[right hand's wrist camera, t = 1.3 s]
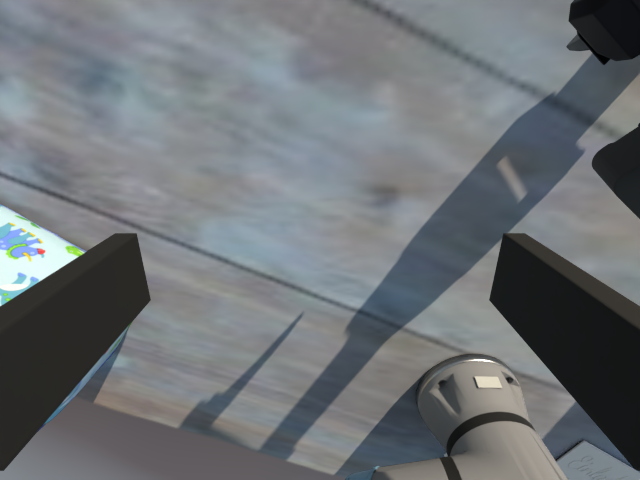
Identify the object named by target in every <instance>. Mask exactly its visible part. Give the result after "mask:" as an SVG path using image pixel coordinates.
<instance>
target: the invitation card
mask: <svg viewBox="0 0 640 480" xmlns="http://www.w3.org/2000/svg"><path fill="white" fill-rule="evenodd" d="M556 462H557V464H558V465H559V467H560V468H561V470H562V471H563V473H564V474H565V476H566V477H567V479H568V480H640V472H639V471H636V470H635V469H633V468H632V467H630V466H628V465H626V464H625V463H623V462H621V461H619V460H618V459H616V458H614V457H612V456H611V455H609V454H607V453H605V452H604V451H602V450H600V449H598V448H597V447H595V446H593V445H591V444H590V443H588V442H586V441H584V440H583V441H582V442H581V443H579V444H578V445H577V446H575V447H574V448H573V449H571V450H570V451H569V452H567V453H566V454H565V455H563V456H562V457H561V458H559V459H558V460H556Z"/></svg>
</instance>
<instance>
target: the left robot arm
mask: <svg viewBox="0 0 640 480" xmlns="http://www.w3.org/2000/svg"><path fill="white" fill-rule="evenodd" d="M569 22H570V23H571V24H572V25H573V26H574V28H575V29H576V30H577V35H576V36H575V37H574V38H573V39H572V41H571V42H570V43H569V44H568V45H567V48H568V49H569V50H572V51H584V50H590V51H591V52H592V53H593V54H594V55H595V56H596V57H597V59H598V60H599V61H600V62H601V63H602V64H603V65H605V64H606V63H607V62H608V61H609V60H610V59H612V60H615V61H620V60H629V59H633V58H635V57H636V56H638V55H640V0H574V1H573V2H572V3H571V6H570V14H569ZM592 167H593V169H594V170H595V171H596V172H597V174H598V175H599V176H600V177H601V178H602V179H603V181H604V182H605V183H606V184H607V185H608V186H609V187H610V189H611V190H612V191H613V192H614V193H615V194H616V196H617V197H618V198H619V199H620V200H621V201H622V202H623V203H624V204H625V205H626V206H627V207H628V208H629V209H630V210H631V211H632V212H633V213H634V214H635V215H636V216H637V217H638V218H639V219H640V123H639V124H638V127H637V128H635V129H634V130H632V131H631V132H629V133H628V134H626V135H625V136H623V137H622V138H620V139H619V140H617V141H616V142H614V143H610V144H608V145H606V146H605V147H603V148H602V149H601V150H599V151H598V152H597V153H596V155H595V156H594V158H593V160H592Z"/></svg>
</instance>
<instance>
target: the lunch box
mask: <svg viewBox="0 0 640 480" xmlns="http://www.w3.org/2000/svg"><path fill="white" fill-rule="evenodd" d="M85 252H86V251H85V250H83V249H81V248H79V247H77V246H75V245H73V244H71V243H70V242H68V241H66V240H64V239H62V238H61V237H59V235H57V234H55V233H53V232H51V231H49V230H47V229H45V228H43V227H41V226H39V225H37V224H35V223H33V222H32V221H30V220H28V219H27V218H25V217H23V216H22V215H20V214H18V213H17V212H15V211H13V210H11V209H9V208H7V207H5V206H3V205H1V204H0V306H2V305H3V304H5V303H6V302H8V301H10V300H11V299H13V298H14V297H16V296H17V295H19V294H21V293H22V292H24V291H25V290H27V289H28V288H30V287H32V286H33V285H35V284H36V283H38V282H39V281H41V280H43V279H44V278H46V277H47V276H49V275H50V274H52V273H54V272H55V271H57V270H58V269H60V268H62V267H63V266H65V265H66V264H68V263H69V262H71V261H73V260H74V259H76V258H77V257H79V256H80V255H82V254H84V253H85ZM131 323H132V322H131ZM131 323H130V325H131ZM130 325H129V326H130ZM129 326H128V327H127V328H126V329H125V330H124V332H123V333H122V334H121V335H120V336H119V337H118V339H117V340H116V341H115V342H114V343H113V344H112V346H111V347H110V348H109V349H108V350H107V351H106V352H105V354H104V355H103V356H102V357H101V358H100V359H99V361H98V362H97V363H96V364H95V365H94V366H93V368H92V369H91V370H90V371H89V372H88V373H87V375H86V376H85V377H84V378H83V379H82V380H81V382H80V383H79V384H78V385H77V386H76V387H75V388H74V390H73V391H72V392H71V393H70V394H69V395H68V397H67V398H66V399H65V400H64V401H63V402H62V404H61V405H60V406H59V407H58V408H57V409H56V411H55V412H54V413H53V414H52V415H51V416H50V417H49V419H48V420H47V421H46V422H45V423H44V424H43V426H44V425H45V424H46V423H48V422H49V421H51V420H52V419H53V418H54V417H55V416H56V415H57V414H58V413H59V412H61V411H62V409H63V408H64V407H65V406H66V405H67V404H68V403H69V402H70V401H71V400H72V399H73V398H74V397H75V396H76V395H77V394H78V392H79V391H80V390H81V389H82V388H83V387H84V386H85V385H86V383H87V382H88V381H89V380H90V379H91V377H92V376H93V375H94V374H95V373H96V371H97V370H98V369H99V368H100V367H101V366H102V365H103V364H104V363H105V362H106V361H107V360H108V359H109V357H110V356H111V355H112V354H113V353H114V351H115V350H116V348H117V346H118V345H119V343H120V342H121V340H122V338H123V336H124V334H125V332H126V331H127V329H128V328H129ZM43 426H42V427H43ZM42 427H41V428H42ZM41 428H40V429H41ZM40 429H39V430H40ZM39 430H38V431H39ZM38 431H37V432H38Z"/></svg>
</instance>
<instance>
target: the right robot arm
mask: <svg viewBox="0 0 640 480" xmlns="http://www.w3.org/2000/svg"><path fill="white" fill-rule="evenodd" d="M150 300H151V299H150V295H149V290H148V285H147V281H146V276H145V271H144V266H143V262H142V257H141V252H140V247H139V243H138V238H137V233H115V234H114V235H112V236H110V237H109V238H107V239H106V240H104V241H103V242H101V243H99V244H98V245H96V246H95V247H93V248H91V249H90V250H88V251H87V252H85V253H84V254H82V255H80V256H79V257H77V258H76V259H74V260H73V261H71V262H69V263H68V264H66V265H65V266H63V267H62V268H60V269H58V270H57V271H55V272H54V273H52V274H50V275H49V276H47V277H46V278H44V279H43V280H41V281H39V282H38V283H36V284H35V285H33V286H32V287H30V288H28V289H27V290H25V291H24V292H22V293H21V294H19V295H17V296H16V297H14V298H13V299H11V300H10V301H8V302H6V303H5V304H3V305H2V306H0V471H4V470H5V468H6V467H7V466H8V465H9V464H10V463H11V462H12V460H13V459H14V458H15V457H16V456H17V455H18V453H19V452H20V451H21V450H22V449H23V448H24V447H25V445H26V444H27V443H28V442H29V441H30V440H31V438H32V437H33V436H34V435H35V434H36V433H37V431H38V430H39V429H40V428H41V427H42V426H43V424H44V423H45V422H46V421H47V420H48V419H49V417H50V416H51V415H52V414H53V413H54V412H55V411H56V409H57V408H58V407H59V406H60V405H61V404H62V402H63V401H64V400H65V399H66V398H67V397H68V395H69V394H70V393H71V392H72V391H73V390H74V388H75V387H76V386H77V385H78V384H79V383H80V382H81V380H82V379H83V378H84V377H85V376H86V375H87V373H88V372H89V371H90V370H91V369H92V368H93V366H94V365H95V364H96V363H97V362H98V361H99V359H100V358H101V357H102V356H103V355H104V354H105V352H106V351H107V350H108V349H109V348H110V347H111V346H112V344H113V343H114V342H115V341H116V340H117V339H118V337H119V336H120V335H121V334H122V333H123V332H124V330H125V329H126V328H127V327H128V326H129V325H130V323H131V322H132V321H133V320H134V319H135V318H136V317H137V315H138V314H139V313H140V312H141V311H142V310H143V308H144V307H145V306H146V305H147V304H148V303H149V301H150ZM489 300H490V301H491V303H492V304H493V305H494V306H495V307H496V308H497V310H498V311H499V312H500V313H501V314H502V315H503V317H504V318H505V319H506V320H507V321H508V322H509V323H510V325H511V326H512V327H513V328H514V329H515V330H516V332H517V333H518V334H519V335H520V336H521V337H522V339H523V340H524V341H525V342H526V343H527V344H528V346H529V347H530V348H531V349H532V350H533V351H534V352H535V354H536V355H537V356H538V357H539V358H540V359H541V361H542V362H543V363H544V364H545V365H546V366H547V368H548V369H549V370H550V371H551V372H552V373H553V375H554V376H555V377H556V378H557V379H558V380H559V382H560V383H561V384H562V385H563V386H564V387H565V388H566V390H567V391H568V392H569V393H570V394H571V395H572V397H573V398H574V399H575V400H576V401H577V402H578V404H579V405H580V406H581V407H582V408H583V409H584V411H585V412H586V413H587V414H588V415H589V416H590V417H591V419H592V420H593V421H594V422H595V423H596V424H597V426H598V427H599V428H600V429H601V430H602V431H603V433H604V434H605V435H606V436H607V437H608V438H609V440H610V441H611V442H612V443H613V444H614V445H615V447H616V448H617V449H618V450H619V451H620V452H621V453H622V455H623V456H624V457H625V458H626V459H627V460H628V462H629V463H630V464H631V465H632V466H633V467H634V469H635V470H636V471H640V306H638V305H637V304H635V303H634V302H632V301H630V300H629V299H627V298H626V297H624V296H623V295H621V294H619V293H618V292H616V291H615V290H613V289H612V288H610V287H608V286H607V285H605V284H604V283H602V282H601V281H599V280H597V279H596V278H594V277H593V276H591V275H590V274H588V273H586V272H585V271H583V270H582V269H580V268H578V267H577V266H575V265H574V264H572V263H571V262H569V261H567V260H566V259H564V258H563V257H561V256H560V255H558V254H556V253H555V252H553V251H552V250H550V249H549V248H547V247H545V246H544V245H542V244H541V243H539V242H537V241H536V240H534V239H533V238H531V237H530V236H528V235H526V234H525V233H503V238H502V243H501V247H500V252H499V257H498V262H497V266H496V271H495V276H494V281H493V285H492V290H491V295H490V299H489ZM416 402H417V406H418V409H419V412H420V415H421V417H422V419H423V421H424V422H425V424H426V425H427V427H428V428H429V429H430V430H431V432H432V433H433V434H434V436H435V437H436V438H437V440H438V441H439V442H440V444H441V445H442V446H443V448H444V449H445V450H446V452H447V455H448V457H443V458H436V459H430V460H424V461H417V462H411V463H404V464H397V465H391V466H384V467H379V466H375V467H373V468H372V469H370V470H366V471H361V472H357V473H353V474H351V475H349V476H348V477H347V478H346V479H345V480H568V479H567V477H566V476H565V474H564V473H563V471H562V470H561V468H560V467H559V465H558V464H557V462H556V461H555V459H554V458H553V456H552V455H551V453H550V452H549V450H548V449H547V447H546V446H545V444H544V443H543V441H542V440H541V438H540V437H539V435H538V434H537V432H536V431H535V429H534V428H533V426H532V425H531V423H530V421H529V417H528V413H527V410H526V406H525V402H524V398H523V394H522V390H521V387H520V385H519V382H518V380H517V378H516V377H515V375H514V374H513V373H512V371H511V370H510V369H509V367H508V366H507V365H506V364H504V363H503V362H502V361H500V360H498V359H496V358H494V357H491V356H487V355H481V354H466V355H460V356H456V357H452V358H449V359H447V360H445V361H443V362H441V363H439V364H437V365H436V366H434V367H433V368H432V369H431V370H429V371H428V372H427V373H426V374H425V376H424V377H423V378H422V380H421V381H420V383H419V385H418V388H417V392H416Z"/></svg>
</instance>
